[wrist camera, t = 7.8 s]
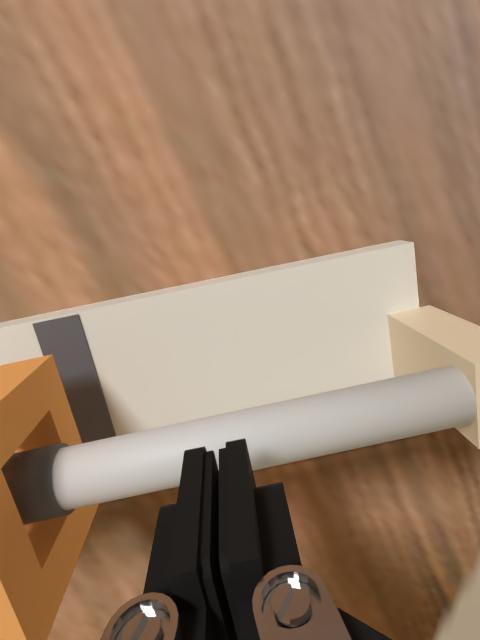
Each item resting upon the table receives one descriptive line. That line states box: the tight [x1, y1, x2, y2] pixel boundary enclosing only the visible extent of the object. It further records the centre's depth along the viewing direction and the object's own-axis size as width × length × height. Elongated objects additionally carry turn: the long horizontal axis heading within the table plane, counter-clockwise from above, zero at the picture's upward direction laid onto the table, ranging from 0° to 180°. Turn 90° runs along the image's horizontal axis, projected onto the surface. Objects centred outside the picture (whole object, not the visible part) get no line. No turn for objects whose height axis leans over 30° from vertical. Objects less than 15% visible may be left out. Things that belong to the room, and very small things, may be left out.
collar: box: [0, 355, 99, 640], centre depth 14 cm, size 2×7×7 cm, turn 11°
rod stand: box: [0, 240, 480, 525], centre depth 17 cm, size 23×9×8 cm, turn 101°
